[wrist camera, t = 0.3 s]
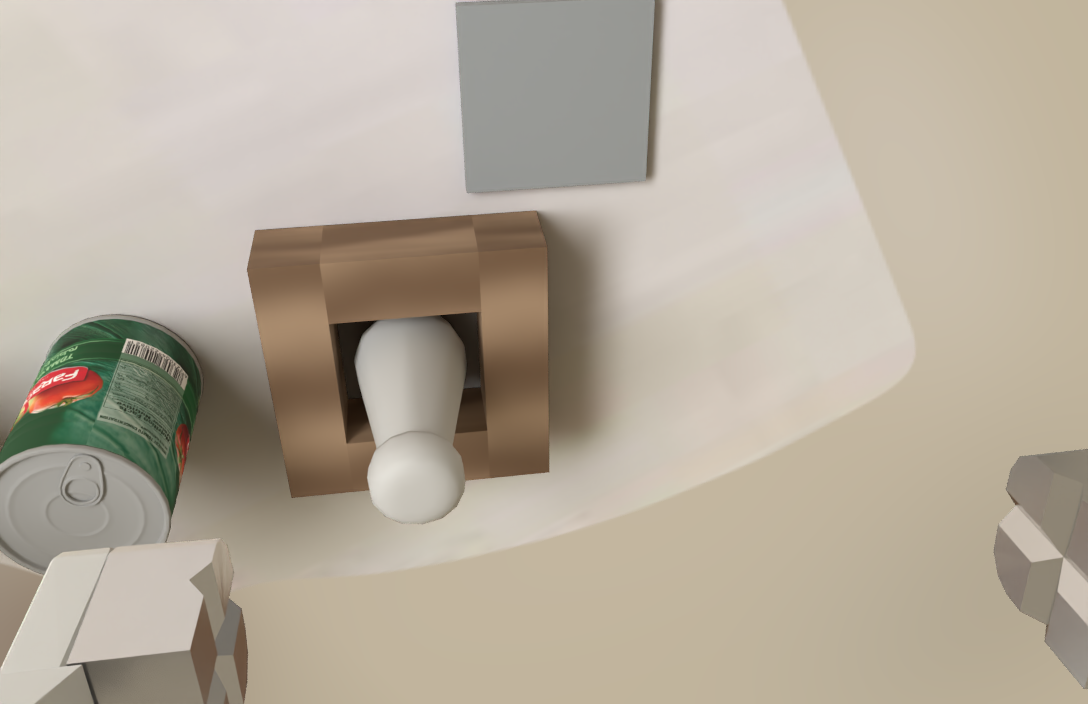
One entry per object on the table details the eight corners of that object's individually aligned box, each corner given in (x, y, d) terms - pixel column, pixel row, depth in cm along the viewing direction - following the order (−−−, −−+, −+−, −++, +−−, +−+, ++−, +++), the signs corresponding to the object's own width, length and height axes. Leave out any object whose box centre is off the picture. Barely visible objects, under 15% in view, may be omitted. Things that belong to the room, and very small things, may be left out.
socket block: (255, 230, 50) (246, 269, 47) (536, 210, 51) (547, 246, 48) (296, 451, 58) (291, 497, 54) (539, 428, 59) (549, 472, 56)
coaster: (455, 2, 45) (456, 6, 45) (652, -7, 46) (655, -3, 46) (465, 188, 50) (466, 193, 50) (643, 176, 51) (645, 180, 51)
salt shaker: (443, 277, 53) (461, 428, 42) (477, 362, 56) (502, 522, 45) (337, 311, 53) (329, 471, 42) (377, 394, 56) (379, 561, 46)
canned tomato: (190, 447, 57) (155, 594, 47) (38, 420, 54) (-29, 569, 45) (216, 331, 53) (184, 466, 44) (54, 297, 50) (-16, 432, 41)
